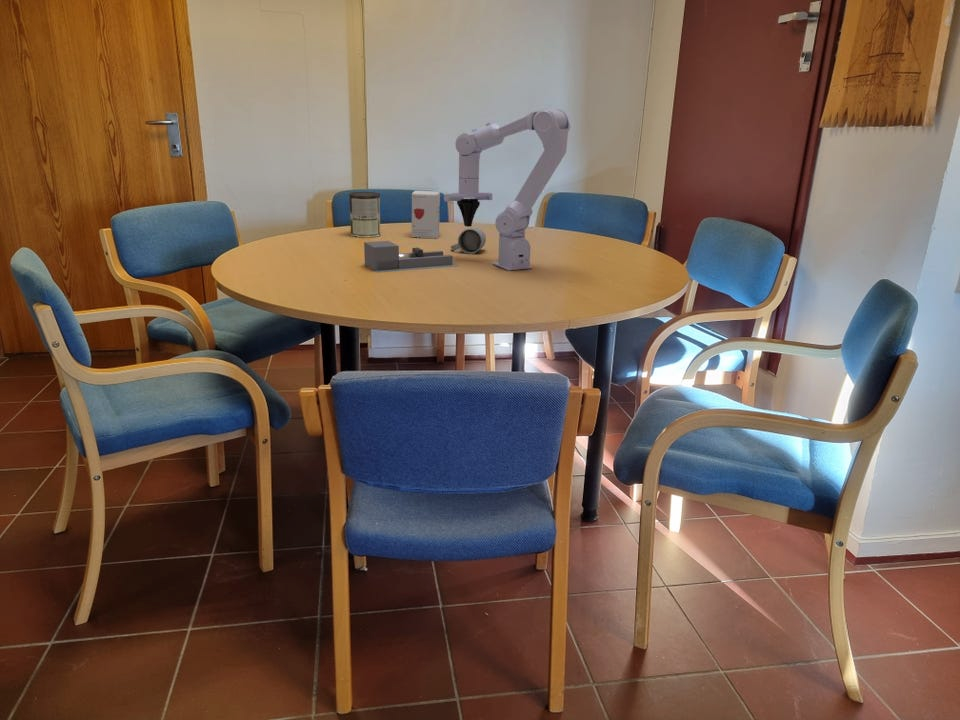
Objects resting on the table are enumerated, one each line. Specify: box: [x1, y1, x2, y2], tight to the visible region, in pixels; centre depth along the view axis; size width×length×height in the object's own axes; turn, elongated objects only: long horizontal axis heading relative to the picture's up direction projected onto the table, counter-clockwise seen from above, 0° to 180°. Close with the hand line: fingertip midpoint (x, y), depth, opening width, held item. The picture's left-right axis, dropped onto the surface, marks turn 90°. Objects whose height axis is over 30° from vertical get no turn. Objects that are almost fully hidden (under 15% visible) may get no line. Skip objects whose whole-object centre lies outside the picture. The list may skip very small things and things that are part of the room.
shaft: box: [399, 247, 424, 259], centre depth 193 cm, size 4×10×4 cm, turn 117°
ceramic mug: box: [450, 226, 487, 255], centre depth 217 cm, size 11×8×8 cm
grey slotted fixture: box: [362, 240, 459, 274], centre depth 193 cm, size 12×24×7 cm, turn 117°
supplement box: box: [411, 190, 441, 239], centre depth 239 cm, size 9×9×15 cm
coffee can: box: [348, 191, 381, 238], centre depth 237 cm, size 10×10×14 cm
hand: (467, 226), depth 202 cm, fingers closed
